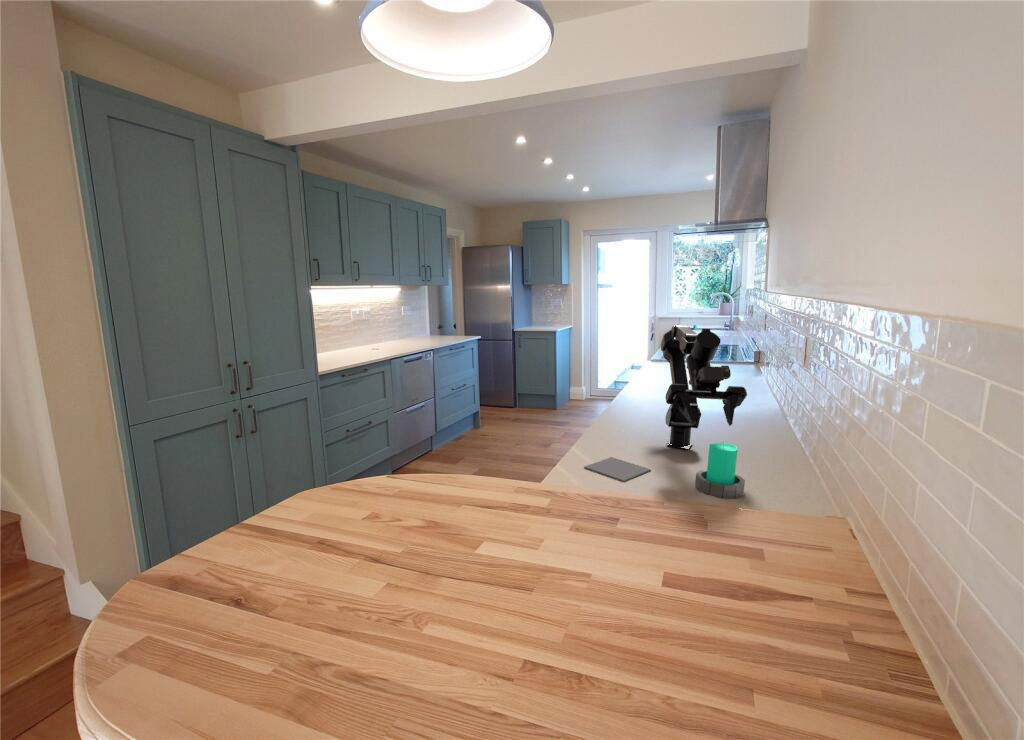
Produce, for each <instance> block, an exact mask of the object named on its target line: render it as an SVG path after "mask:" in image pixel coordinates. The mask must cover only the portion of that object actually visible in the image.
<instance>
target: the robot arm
mask: <svg viewBox="0 0 1024 740" xmlns="http://www.w3.org/2000/svg"><path fill="white" fill-rule="evenodd" d="M720 344H721V338H720V337H719V336H718V334H716V333H714V332H713V331H711V328H701V331H700V332H699V333H697V332H695V331H694V330H693V329H691V327H690V326H688V325H686V324H684V325H683V324H675V325H672V327H671V329H670V330H669V331H667V332H665V333H664V334H663V336H662V339H661V342H660V351H662V355H663V358H664V359H665V360H666V361H667V362H668V363H669V369H670V376H671V384H670V385H669V386H668V389H667V391H666V393H665V403H666V404H668V405H670V406H669V407H668V409H667V412H666V414H665V424H666V426H667V427H670V432H669V433H670V435H669V441H670V444H672V445H670V444H669V443H668V442H667V443H666V445H667V444H669V445H670V446H675V447H684V446H688V445H690V443H691V433H692V429H698V428H699V426H700V425H699V424H700V420H701V416H702V412H701V409H700V407H699V404H698V399H700V400H701V399H702V400H722V404H723V407H722V409H723V412H724V416H725V419H726V422H727V424H728V426H733V419H734V415H735V409H737V407H740V406H741V405H742V404H743V402H744V401H745V399H746V397H747V396H748V392H747V389H746V388H745V387H743V386H738V385H729V386H727V388H726V390H725V391H720V390H717V389H719V388H720V386H721V384H720V382H722V381H724V380H728V379H729V378H731V369H730V366H729V365H721V366H712V365H711V361H713V360H714V358H715V355H716V354H717V351H718V349H719V347H720ZM687 355H688V356H687ZM687 372H688V374H687ZM688 376H689V379H688ZM689 386H691V389H690V388H689ZM675 447H674V448H675Z"/></svg>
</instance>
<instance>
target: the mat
mask: <svg viewBox="0 0 1024 740" xmlns="http://www.w3.org/2000/svg"><path fill="white" fill-rule="evenodd" d="M583 468H584V469H586V470H588V471H591V472H593V473H597V474H600V475H603V476H605V477H609V478H611V479H614V480H616V481H620V482H623V483H625V482H627V481H630V480H633V479H635V478H637V477H639V476H642V475H644V474H647V473H649V472H651V471H652V470H651V469H652V468H649V467H648V468H647V467H645V466H641V465H639V464H635V463H631V462H628V461H625V460H622V459H619V458H617V457H612V456H611V457H607V458H604V459H602V460H599V461H597V462H594V463H591V464H588V465H585V466H584V467H583Z"/></svg>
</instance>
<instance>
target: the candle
mask: <svg viewBox="0 0 1024 740" xmlns="http://www.w3.org/2000/svg"><path fill="white" fill-rule="evenodd" d="M708 448H709V449H708V458H707V466H706V467H707V468H706V469H707V476H706V479H707V480H709V481H712V482H716V483H721V484H734V478H735V474H736V468H737V467H736V466H737V458H738V457H737V456H738V451H739V450H738V446H737V445H735V444H732V443H731V444H730V443H727V442H725V441H723V442H717V443H709V447H708Z"/></svg>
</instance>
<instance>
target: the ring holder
mask: <svg viewBox="0 0 1024 740" xmlns="http://www.w3.org/2000/svg"><path fill="white" fill-rule="evenodd" d="M706 476H707V468H706V469H705V468H704V469H702V470H698V471H697V472H696V473H695V481H694V483H695V484H694V487H695V489H696V490H697V491H698V492H700V493H702V494H705V495H707V496H709V497H714V498H719V499H724V500H727V499H728V500H735V499H740V498H743V496H744V494H745V493H744V492H745V485H746V480H745V479H744V478H743V477H742V476H741V475H738V474H736V473H735V478H734V484H721V483H716V482H712V481H709V480H707V479H706Z"/></svg>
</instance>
